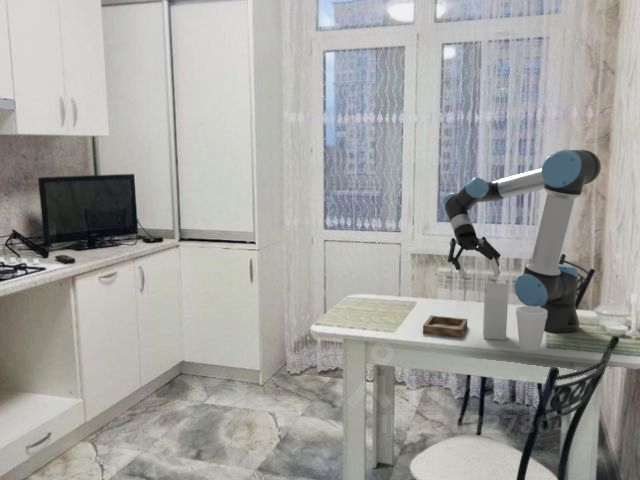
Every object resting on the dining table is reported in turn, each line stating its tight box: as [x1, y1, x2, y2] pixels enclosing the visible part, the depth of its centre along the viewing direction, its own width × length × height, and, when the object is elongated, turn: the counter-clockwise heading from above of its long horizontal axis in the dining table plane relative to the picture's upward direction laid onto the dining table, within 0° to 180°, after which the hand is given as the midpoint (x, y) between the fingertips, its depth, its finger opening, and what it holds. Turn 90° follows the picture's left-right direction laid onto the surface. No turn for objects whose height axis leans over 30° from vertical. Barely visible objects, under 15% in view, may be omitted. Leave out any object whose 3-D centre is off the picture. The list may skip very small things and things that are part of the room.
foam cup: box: [515, 305, 548, 353], centre depth 190 cm, size 10×9×13 cm
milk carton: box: [482, 282, 509, 341], centre depth 201 cm, size 7×7×19 cm
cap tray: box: [422, 314, 468, 339], centre depth 210 cm, size 13×13×3 cm
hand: (481, 276), depth 210 cm, fingers open, 13 cm apart
